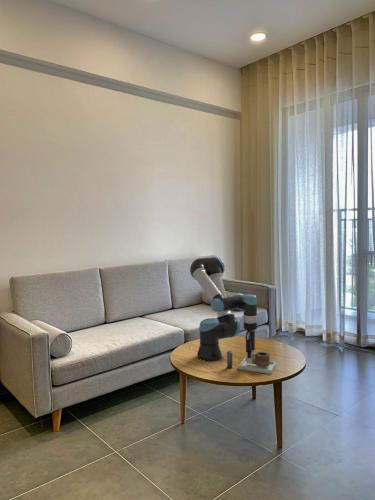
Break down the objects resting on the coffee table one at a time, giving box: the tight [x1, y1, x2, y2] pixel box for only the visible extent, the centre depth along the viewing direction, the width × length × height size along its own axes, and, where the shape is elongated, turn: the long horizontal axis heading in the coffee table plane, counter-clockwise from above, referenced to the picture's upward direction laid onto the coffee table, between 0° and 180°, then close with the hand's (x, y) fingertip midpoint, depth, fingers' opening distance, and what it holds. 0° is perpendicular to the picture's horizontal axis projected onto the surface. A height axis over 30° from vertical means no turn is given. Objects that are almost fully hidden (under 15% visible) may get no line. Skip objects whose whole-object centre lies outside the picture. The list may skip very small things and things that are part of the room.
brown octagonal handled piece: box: [252, 351, 271, 367], centre depth 218 cm, size 12×8×6 cm, turn 66°
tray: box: [237, 357, 277, 375], centre depth 218 cm, size 18×14×2 cm
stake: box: [226, 350, 234, 369], centre depth 218 cm, size 3×3×9 cm
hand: (250, 362), depth 220 cm, fingers closed on brown octagonal handled piece, 3 cm apart
